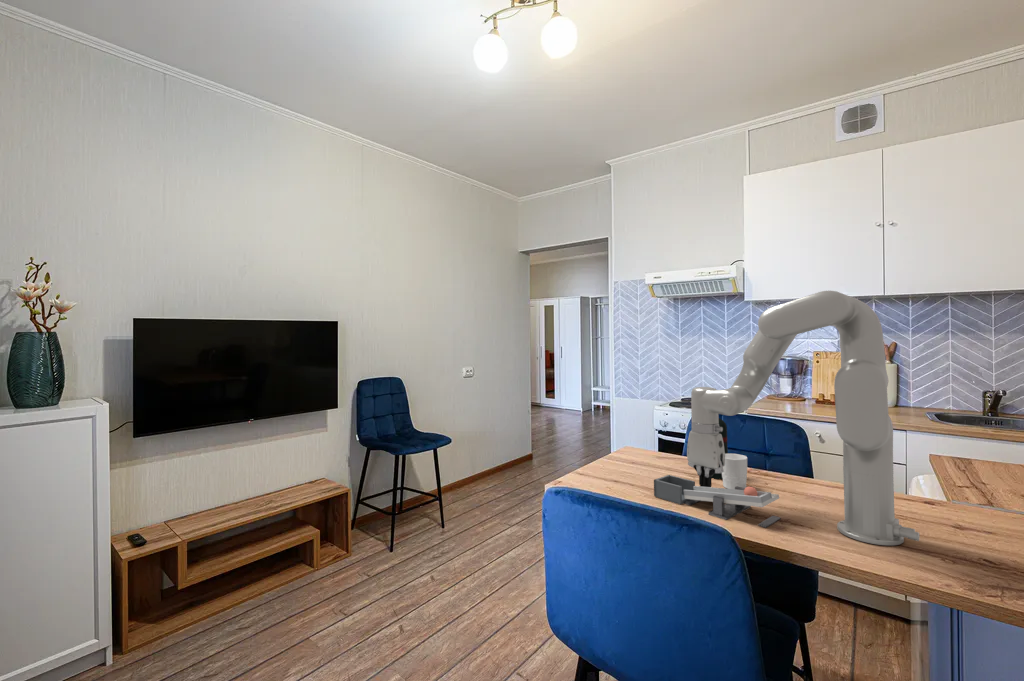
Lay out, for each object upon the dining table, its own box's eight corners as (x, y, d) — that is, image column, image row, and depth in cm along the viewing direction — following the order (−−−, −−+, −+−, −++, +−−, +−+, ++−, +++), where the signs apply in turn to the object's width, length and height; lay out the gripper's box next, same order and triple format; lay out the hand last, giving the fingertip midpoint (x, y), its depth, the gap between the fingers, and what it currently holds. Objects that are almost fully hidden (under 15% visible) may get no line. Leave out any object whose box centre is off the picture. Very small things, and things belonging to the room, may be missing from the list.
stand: (784, 516, 120) (784, 497, 120) (761, 530, 112) (760, 509, 112) (704, 494, 138) (704, 478, 138) (679, 505, 130) (678, 487, 130)
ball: (761, 491, 118) (751, 482, 120) (756, 494, 116) (745, 485, 118) (755, 500, 119) (745, 491, 121) (749, 502, 117) (739, 493, 119)
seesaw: (779, 498, 119) (777, 489, 120) (762, 507, 113) (760, 497, 113) (703, 491, 136) (701, 483, 137) (684, 498, 130) (683, 490, 131)
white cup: (742, 483, 148) (741, 453, 148) (752, 491, 140) (751, 459, 141) (717, 483, 149) (716, 453, 149) (726, 491, 141) (725, 459, 141)
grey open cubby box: (695, 498, 135) (694, 481, 135) (680, 504, 130) (680, 486, 130) (669, 490, 142) (668, 474, 142) (654, 496, 138) (653, 479, 138)
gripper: (735, 430, 130) (736, 492, 131) (688, 423, 142) (689, 480, 142) (722, 434, 126) (723, 498, 126) (675, 426, 138) (675, 485, 138)
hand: (705, 488), depth 134 cm, fingers closed
